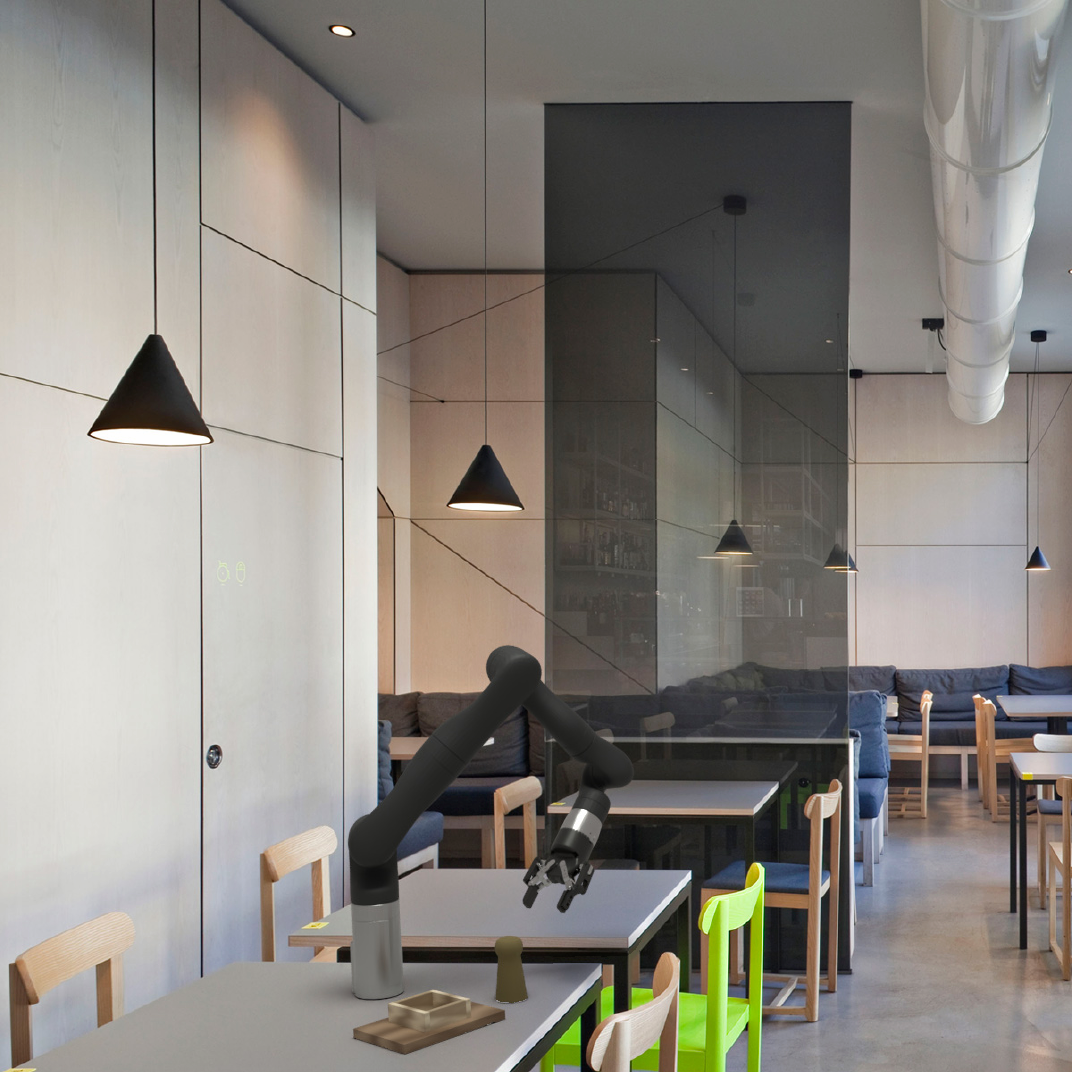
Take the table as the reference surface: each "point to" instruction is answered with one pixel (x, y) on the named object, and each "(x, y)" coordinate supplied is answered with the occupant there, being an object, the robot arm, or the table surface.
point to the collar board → (426, 1021)
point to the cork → (510, 970)
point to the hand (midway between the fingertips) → (543, 908)
